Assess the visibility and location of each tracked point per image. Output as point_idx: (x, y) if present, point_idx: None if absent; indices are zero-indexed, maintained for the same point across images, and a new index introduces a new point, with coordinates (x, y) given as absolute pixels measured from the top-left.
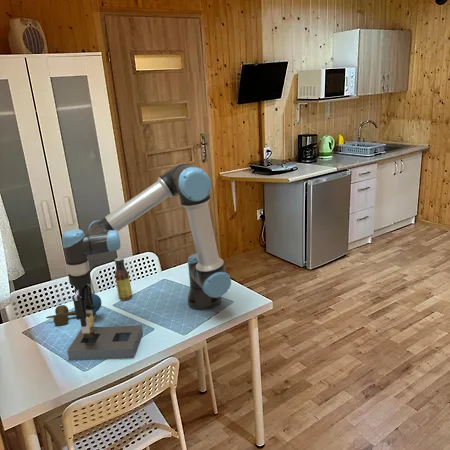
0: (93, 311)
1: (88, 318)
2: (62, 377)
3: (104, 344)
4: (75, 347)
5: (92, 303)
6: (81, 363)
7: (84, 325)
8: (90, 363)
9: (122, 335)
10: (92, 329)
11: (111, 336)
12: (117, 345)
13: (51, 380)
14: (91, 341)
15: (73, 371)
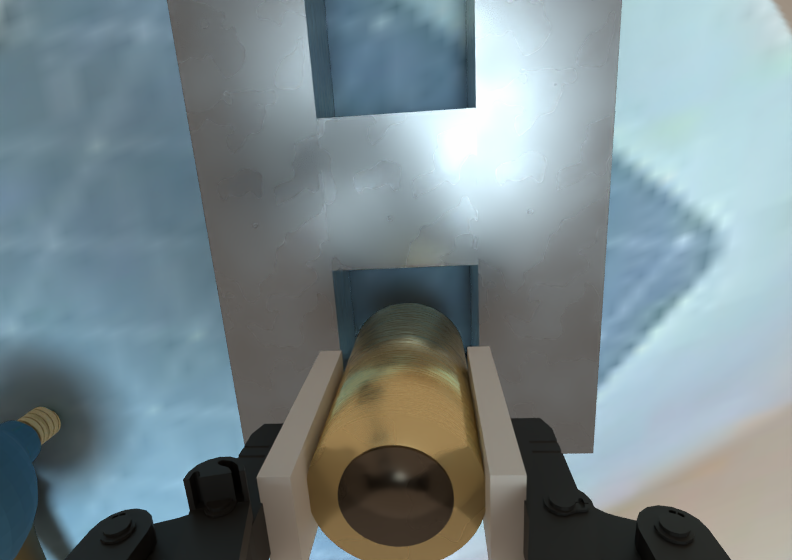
0: (15, 451)
1: (464, 443)
2: (766, 375)
3: (522, 165)
4: (548, 407)
5: (128, 545)
6: (615, 307)
7: (553, 438)
8: (624, 240)
9: (316, 53)
10: (431, 336)
11: (381, 143)
12: (551, 13)
13: (785, 431)
14: (352, 330)
15: (708, 328)
